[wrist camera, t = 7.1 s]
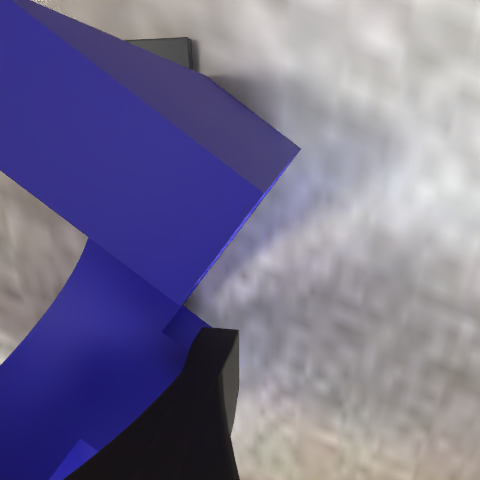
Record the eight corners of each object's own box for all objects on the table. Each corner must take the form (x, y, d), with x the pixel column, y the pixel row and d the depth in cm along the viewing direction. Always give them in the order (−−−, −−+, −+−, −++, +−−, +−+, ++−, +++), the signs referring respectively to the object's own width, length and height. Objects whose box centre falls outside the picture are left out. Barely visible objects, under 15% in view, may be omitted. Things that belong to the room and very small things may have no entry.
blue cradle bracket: (136, 429, 13) (1, 651, 8) (43, 360, 13) (-162, 533, 8) (347, 185, 9) (397, 296, 3) (206, 76, 8) (-12, -18, 3)
